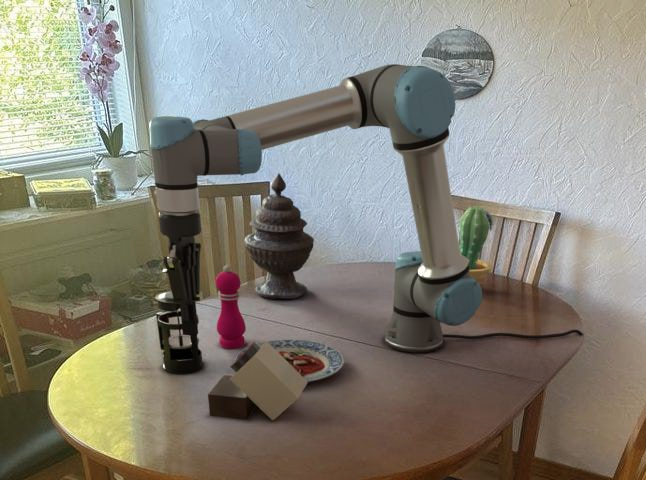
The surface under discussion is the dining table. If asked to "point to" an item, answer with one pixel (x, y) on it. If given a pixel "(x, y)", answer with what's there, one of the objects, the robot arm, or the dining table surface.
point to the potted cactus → (475, 240)
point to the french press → (176, 339)
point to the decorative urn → (279, 244)
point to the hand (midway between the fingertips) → (190, 333)
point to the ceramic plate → (308, 358)
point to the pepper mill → (230, 310)
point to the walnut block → (229, 400)
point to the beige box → (267, 379)
